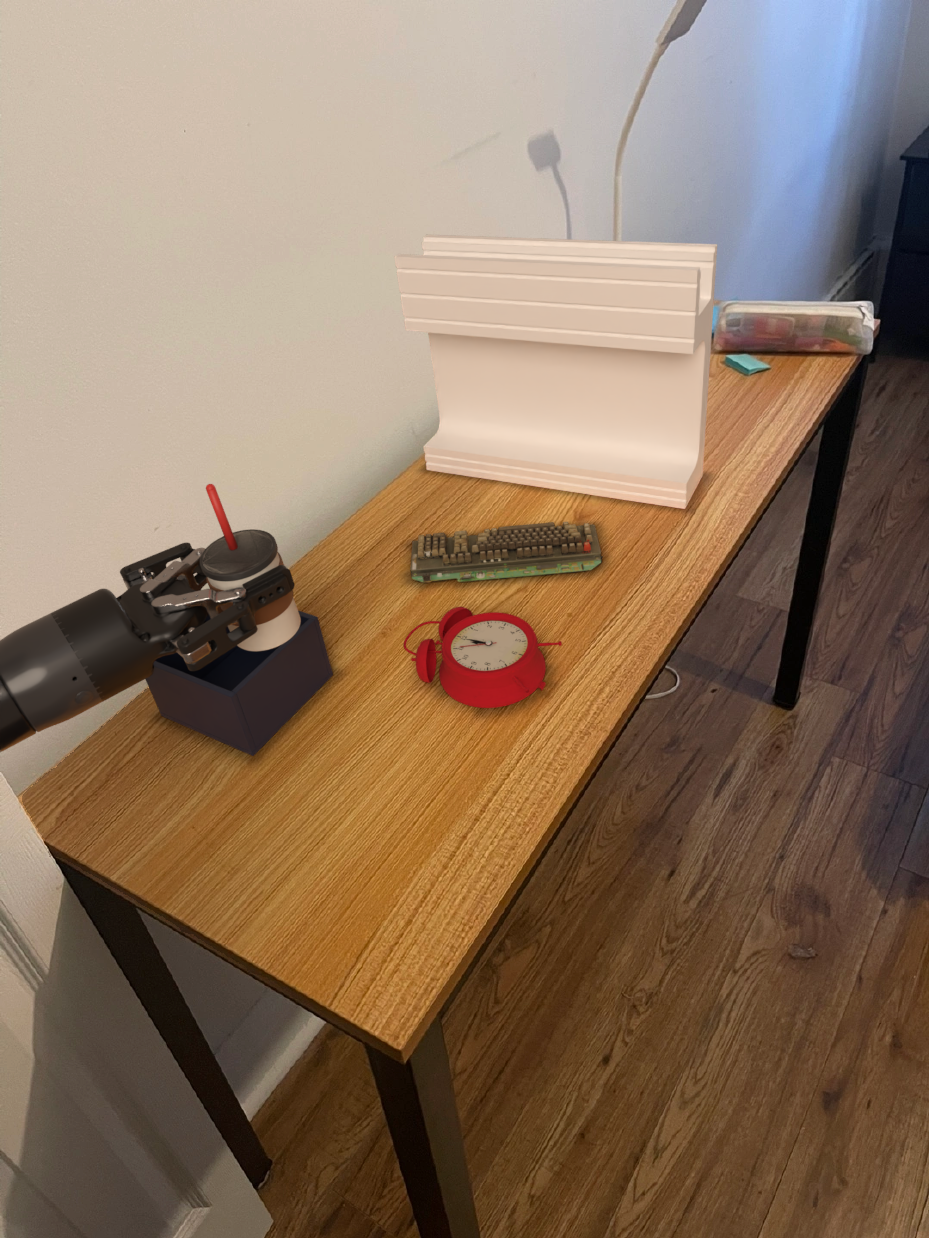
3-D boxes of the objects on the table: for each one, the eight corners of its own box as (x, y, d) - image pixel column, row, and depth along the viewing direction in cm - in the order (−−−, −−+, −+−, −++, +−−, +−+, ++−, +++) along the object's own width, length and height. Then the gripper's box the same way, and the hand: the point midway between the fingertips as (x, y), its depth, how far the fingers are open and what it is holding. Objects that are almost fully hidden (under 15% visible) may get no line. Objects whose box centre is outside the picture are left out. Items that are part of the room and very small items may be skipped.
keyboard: (595, 526, 108) (595, 512, 106) (605, 571, 101) (605, 556, 99) (412, 542, 109) (410, 528, 108) (409, 587, 102) (406, 573, 101)
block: (702, 475, 114) (717, 244, 96) (685, 509, 108) (697, 270, 91) (453, 441, 128) (426, 234, 110) (426, 469, 122) (394, 256, 105)
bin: (253, 756, 84) (231, 697, 80) (161, 716, 90) (135, 658, 85) (333, 674, 92) (317, 616, 87) (244, 642, 98) (225, 586, 93)
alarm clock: (524, 698, 81) (382, 629, 85) (515, 740, 86) (380, 673, 90) (572, 628, 88) (438, 568, 92) (561, 671, 92) (434, 612, 97)
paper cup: (315, 627, 76) (267, 485, 67) (250, 663, 73) (191, 521, 65) (282, 595, 80) (233, 458, 71) (219, 629, 77) (160, 490, 69)
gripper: (80, 670, 60) (300, 556, 66) (24, 579, 70) (220, 487, 76) (124, 746, 65) (326, 633, 71) (66, 651, 75) (247, 559, 81)
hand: (270, 558), depth 74 cm, fingers closed on paper cup, 6 cm apart
